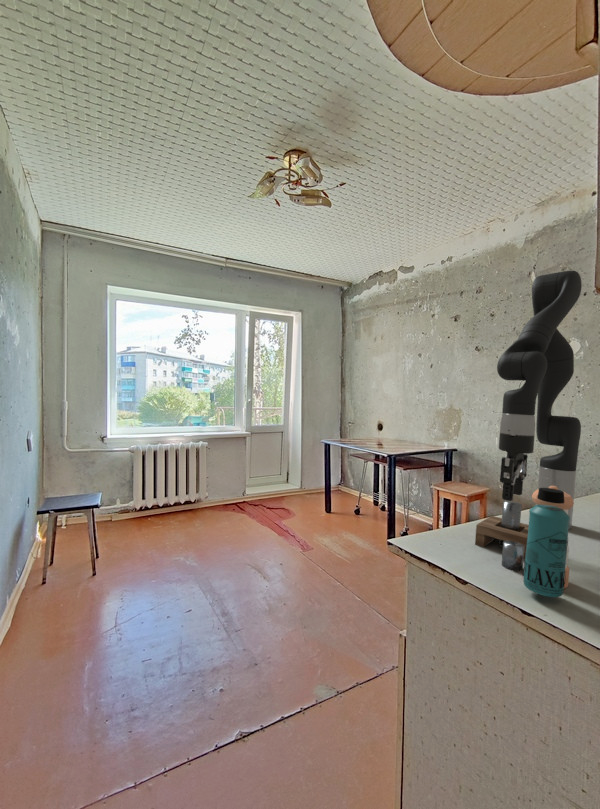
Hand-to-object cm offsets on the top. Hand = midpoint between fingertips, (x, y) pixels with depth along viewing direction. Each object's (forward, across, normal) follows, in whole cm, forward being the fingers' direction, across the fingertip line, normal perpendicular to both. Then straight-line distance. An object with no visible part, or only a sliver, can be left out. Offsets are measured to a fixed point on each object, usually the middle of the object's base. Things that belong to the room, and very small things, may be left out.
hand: (512, 497), depth 94 cm
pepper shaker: (+12, +14, +10) cm, 22 cm away
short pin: (+12, +13, +4) cm, 18 cm away
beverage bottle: (+12, +23, +12) cm, 29 cm away
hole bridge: (+12, 0, 0) cm, 12 cm away
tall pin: (+12, 0, 0) cm, 12 cm away
